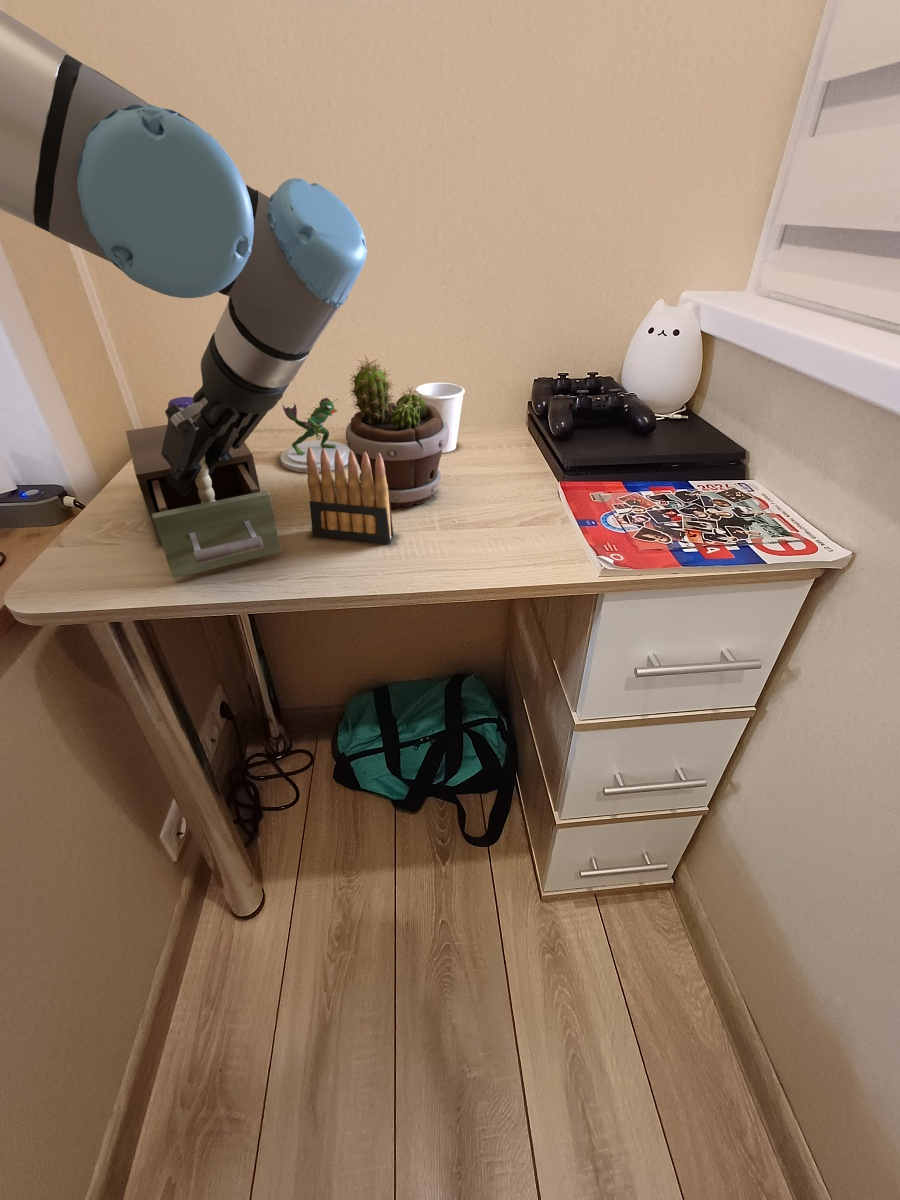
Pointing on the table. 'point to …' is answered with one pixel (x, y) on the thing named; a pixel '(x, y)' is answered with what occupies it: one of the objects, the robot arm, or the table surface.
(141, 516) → the table surface
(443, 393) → the dixie cup
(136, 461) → the cabinet
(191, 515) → the drawer
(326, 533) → the ammunition clip
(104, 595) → the table surface
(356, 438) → the flowerpot
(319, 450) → the monster figurine
